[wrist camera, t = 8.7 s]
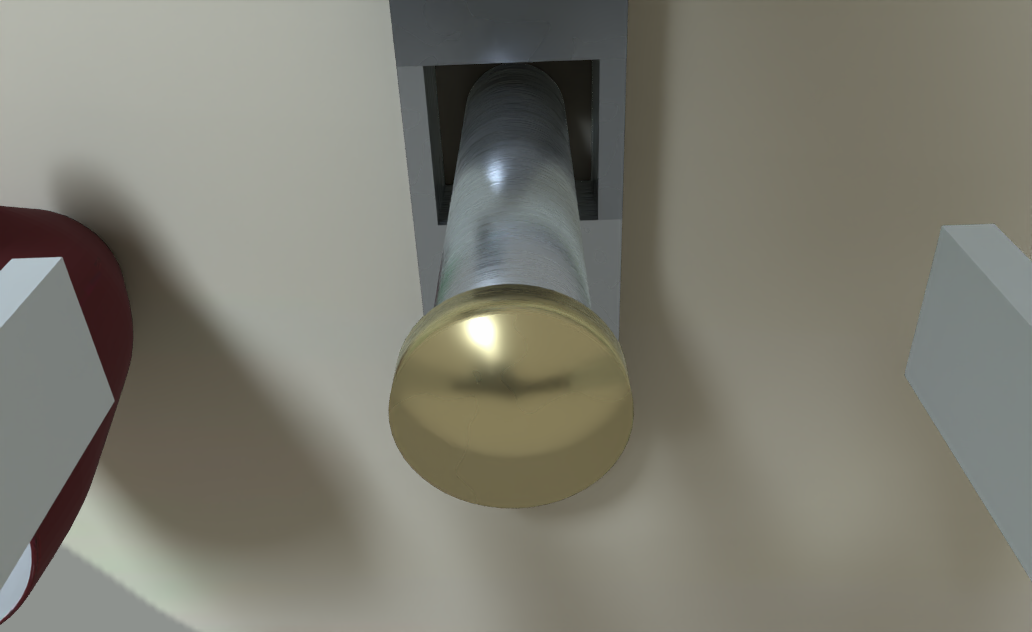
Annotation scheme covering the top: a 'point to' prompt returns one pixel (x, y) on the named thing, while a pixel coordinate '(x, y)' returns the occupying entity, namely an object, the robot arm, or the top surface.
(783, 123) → the top surface
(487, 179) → the pin
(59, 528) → the mug
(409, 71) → the grey rounded bar
